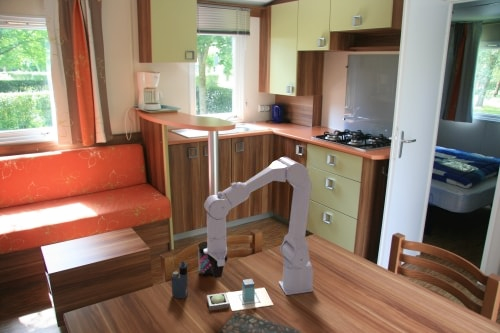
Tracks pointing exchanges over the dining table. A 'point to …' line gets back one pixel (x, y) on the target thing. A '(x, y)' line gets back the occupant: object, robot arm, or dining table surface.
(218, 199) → the robot arm
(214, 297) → the button
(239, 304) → the paper
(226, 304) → the button housing
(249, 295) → the teal block
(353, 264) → the dining table surface
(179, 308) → the dining table surface
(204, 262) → the supplement container
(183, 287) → the vaping device
